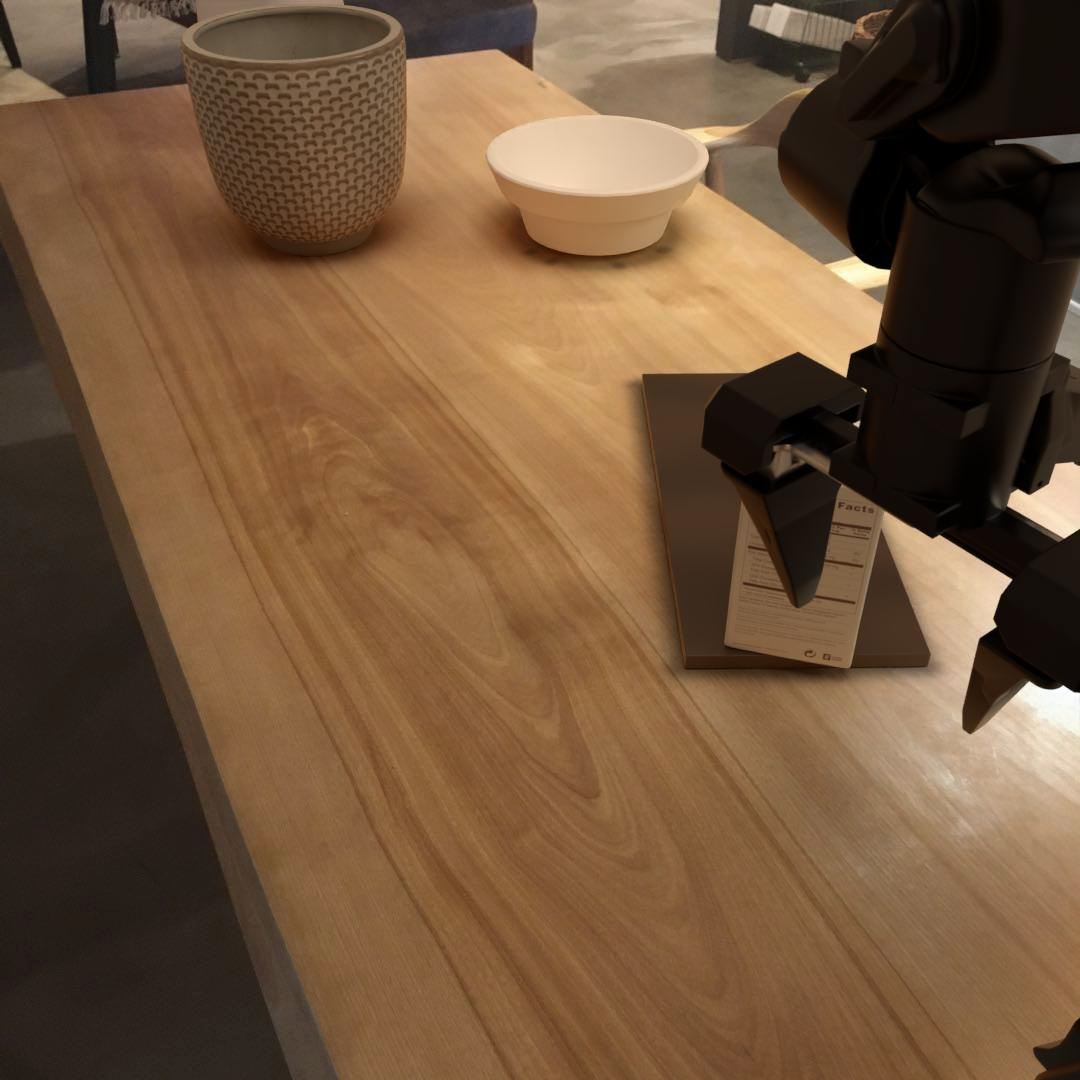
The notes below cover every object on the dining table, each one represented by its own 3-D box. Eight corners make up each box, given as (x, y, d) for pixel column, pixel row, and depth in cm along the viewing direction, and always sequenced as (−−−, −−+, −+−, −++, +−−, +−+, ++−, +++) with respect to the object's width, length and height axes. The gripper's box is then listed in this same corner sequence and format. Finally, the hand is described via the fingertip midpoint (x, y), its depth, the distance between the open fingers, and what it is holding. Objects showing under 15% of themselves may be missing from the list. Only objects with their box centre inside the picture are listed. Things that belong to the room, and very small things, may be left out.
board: (927, 666, 68) (931, 654, 67) (684, 668, 68) (686, 656, 67) (818, 383, 93) (820, 372, 92) (641, 384, 93) (642, 373, 92)
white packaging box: (738, 570, 73) (761, 394, 65) (860, 591, 72) (898, 413, 64) (719, 648, 68) (741, 467, 60) (850, 673, 66) (891, 490, 58)
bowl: (544, 297, 105) (544, 209, 100) (455, 213, 120) (451, 132, 115) (744, 254, 112) (753, 169, 107) (636, 180, 127) (640, 102, 122)
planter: (449, 254, 112) (438, 44, 100) (245, 295, 105) (208, 76, 94) (378, 184, 126) (361, -7, 114) (194, 216, 119) (156, 17, 108)
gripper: (1366, 370, 38) (1197, 707, 47) (904, 187, 49) (844, 488, 59) (1176, 494, 32) (1029, 845, 42) (709, 257, 44) (678, 575, 54)
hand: (883, 661), depth 50 cm, fingers open, 9 cm apart
